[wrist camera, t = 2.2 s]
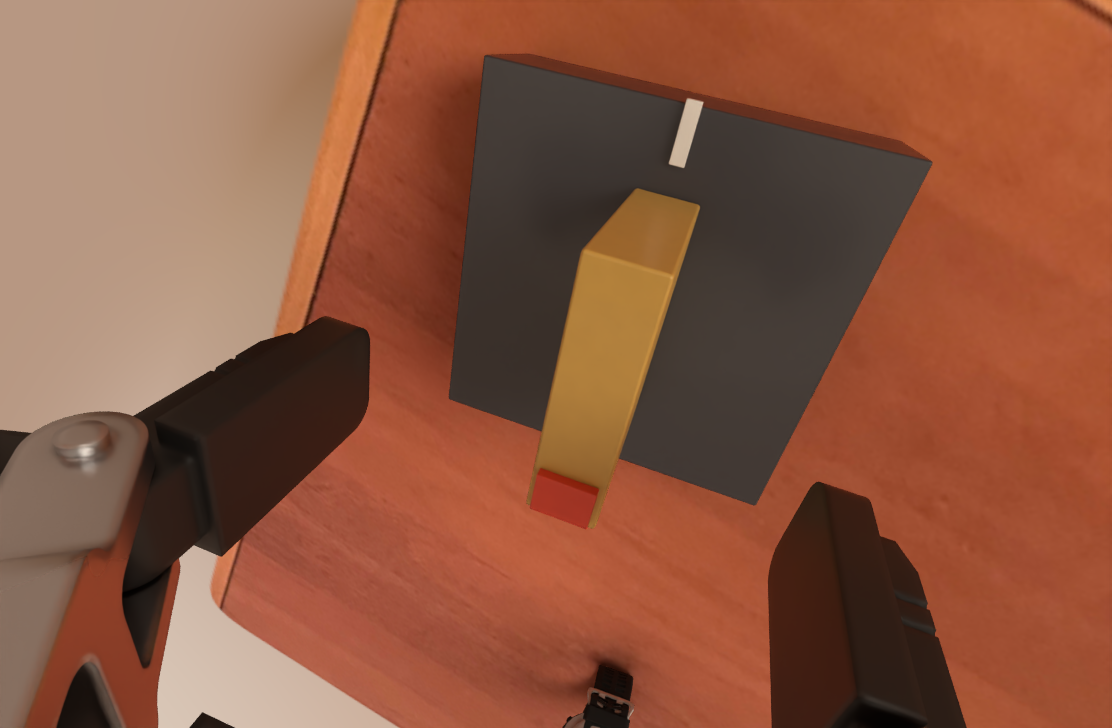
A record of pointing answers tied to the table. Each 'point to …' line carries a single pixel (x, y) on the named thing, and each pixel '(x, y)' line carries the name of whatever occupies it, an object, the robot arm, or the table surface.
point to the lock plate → (708, 267)
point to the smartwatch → (606, 702)
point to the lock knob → (607, 352)
